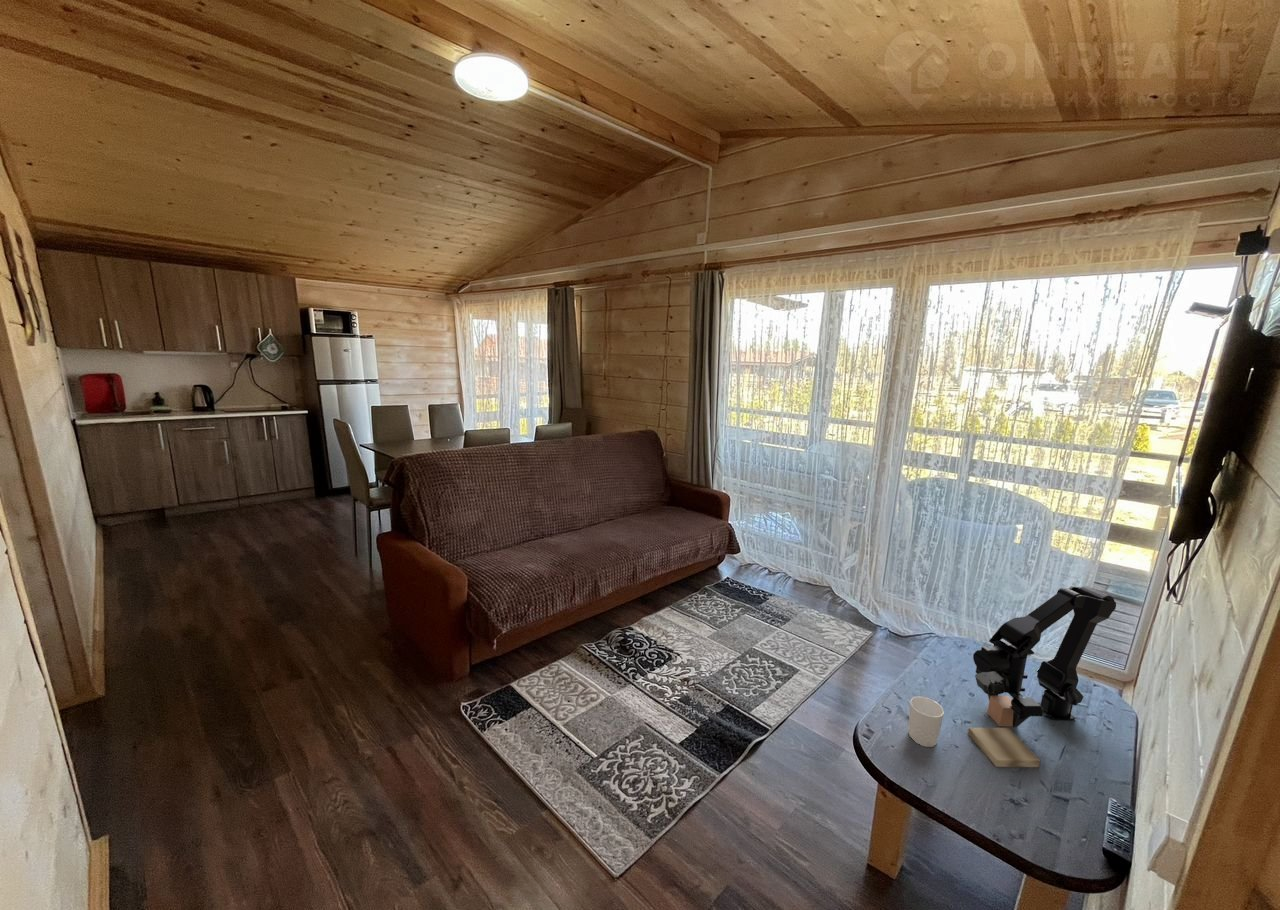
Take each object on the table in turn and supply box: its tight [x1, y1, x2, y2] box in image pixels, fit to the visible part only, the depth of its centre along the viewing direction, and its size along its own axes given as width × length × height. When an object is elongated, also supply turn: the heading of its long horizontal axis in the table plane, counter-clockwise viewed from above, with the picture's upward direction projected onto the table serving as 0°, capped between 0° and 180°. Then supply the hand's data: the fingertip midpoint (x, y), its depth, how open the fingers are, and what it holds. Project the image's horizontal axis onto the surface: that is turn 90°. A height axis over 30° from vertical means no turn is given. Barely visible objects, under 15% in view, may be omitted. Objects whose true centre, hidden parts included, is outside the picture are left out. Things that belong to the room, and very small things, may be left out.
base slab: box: [967, 727, 1041, 768], centre depth 129 cm, size 11×11×2 cm
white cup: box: [908, 696, 945, 748], centre depth 132 cm, size 8×8×10 cm
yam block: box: [987, 695, 1014, 727], centre depth 139 cm, size 5×5×6 cm
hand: (1002, 714), depth 140 cm, fingers open, 9 cm apart
